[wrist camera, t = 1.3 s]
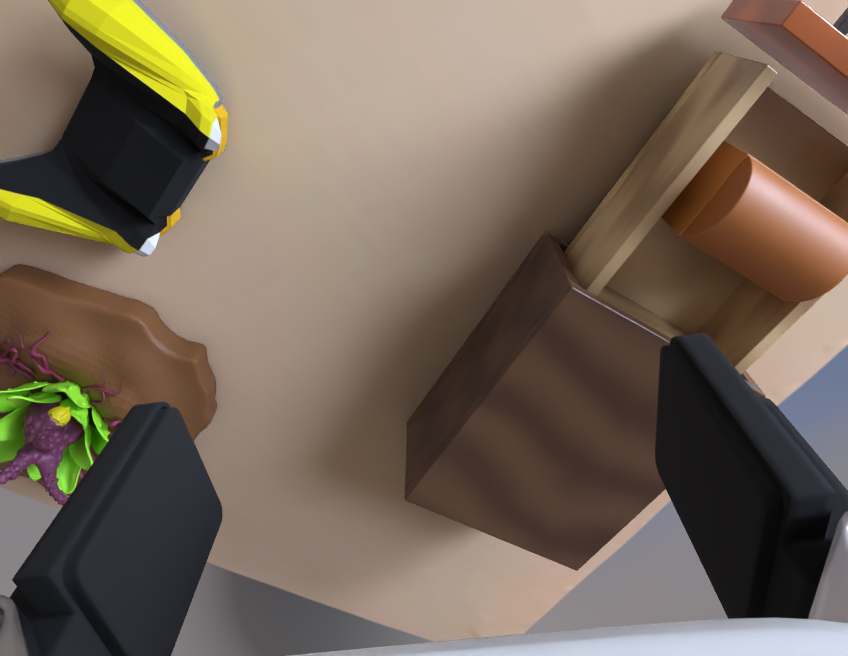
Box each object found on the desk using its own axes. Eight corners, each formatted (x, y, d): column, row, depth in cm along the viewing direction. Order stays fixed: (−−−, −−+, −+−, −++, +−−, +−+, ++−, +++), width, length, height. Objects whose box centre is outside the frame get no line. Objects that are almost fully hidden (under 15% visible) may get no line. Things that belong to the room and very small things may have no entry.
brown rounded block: (703, 129, 34) (768, 164, 28) (800, 196, 36) (882, 244, 30) (645, 201, 36) (693, 250, 30) (740, 261, 39) (804, 319, 32)
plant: (-23, 217, 39) (-170, 295, 29) (250, 353, 45) (202, 457, 35) (-80, 418, 48) (-209, 530, 38) (155, 512, 53) (95, 631, 43)
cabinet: (545, 231, 40) (572, 286, 33) (710, 327, 43) (766, 396, 36) (406, 422, 48) (404, 500, 41) (555, 489, 52) (577, 571, 45)
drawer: (807, -102, 30) (895, -120, 24) (978, 48, 33) (1089, 62, 28) (542, 257, 40) (561, 303, 34) (695, 344, 43) (735, 398, 38)
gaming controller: (6, 174, 38) (151, 266, 41) (-54, 202, 33) (115, 303, 36) (107, -42, 32) (268, 85, 35) (52, -45, 27) (243, 102, 30)
